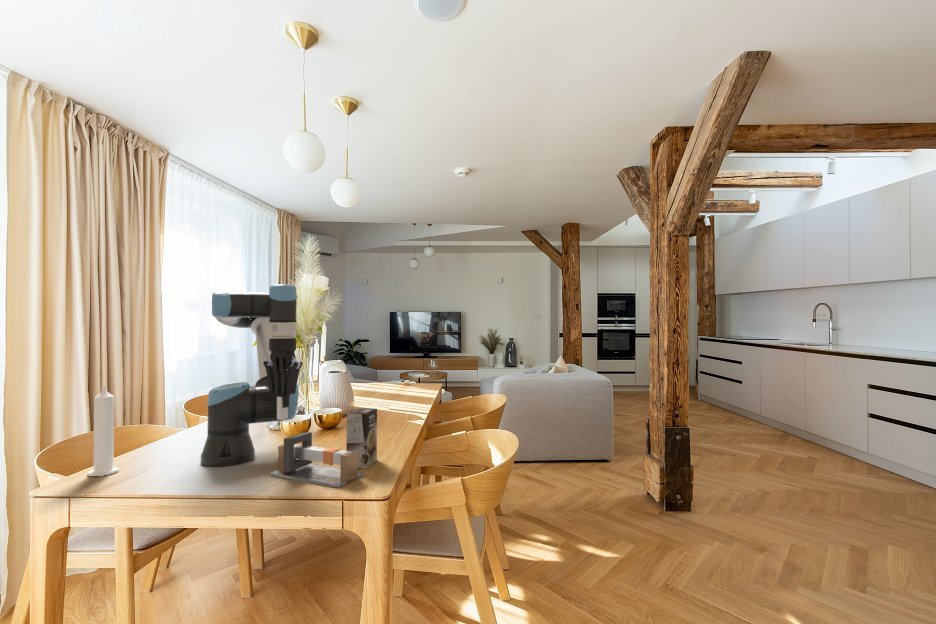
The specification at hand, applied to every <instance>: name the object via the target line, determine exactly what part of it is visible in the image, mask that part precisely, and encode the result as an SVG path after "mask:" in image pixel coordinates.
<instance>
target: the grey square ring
mask: <svg viewBox="0 0 936 624" xmlns="http://www.w3.org/2000/svg"><path fill="white" fill-rule="evenodd" d="M312 433H313V432H310V431H305V432H301V433H298V434H296V435H295V434H294V435H291V436H288V437H285V438H283V445H284V471H285V472H291V471H293V470H296V469H298V468H301V467H303V466H306V465H308V464H313V461H311V460H304V459H298V458H297V459H296V460H295V461H294V444H299V443H301V445H307V446H313V441H312V440H313V439H312V438H313V434H312Z"/></svg>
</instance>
